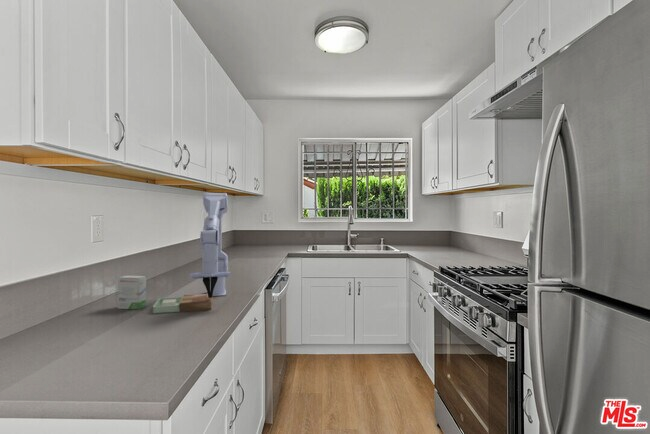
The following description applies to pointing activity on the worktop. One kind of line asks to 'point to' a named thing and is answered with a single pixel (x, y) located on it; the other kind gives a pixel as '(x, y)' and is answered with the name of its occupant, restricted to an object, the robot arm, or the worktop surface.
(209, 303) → the walnut board
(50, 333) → the worktop surface
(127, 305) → the ink box
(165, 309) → the tray
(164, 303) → the cream tile
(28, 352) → the worktop surface
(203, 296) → the terracotta tile
